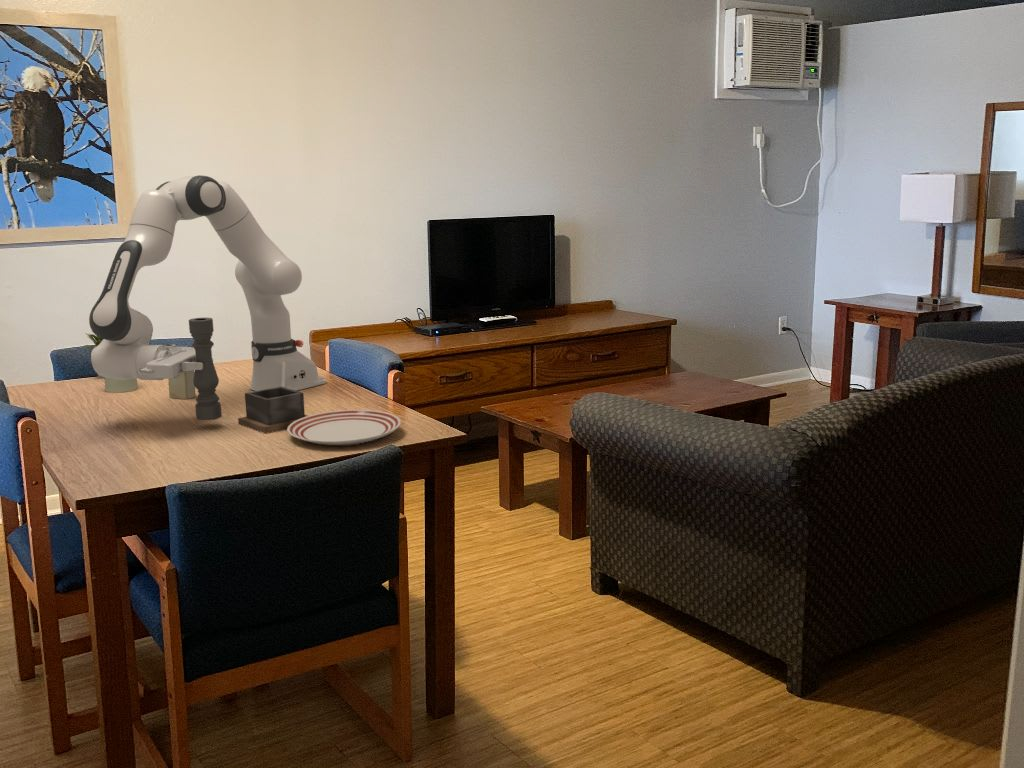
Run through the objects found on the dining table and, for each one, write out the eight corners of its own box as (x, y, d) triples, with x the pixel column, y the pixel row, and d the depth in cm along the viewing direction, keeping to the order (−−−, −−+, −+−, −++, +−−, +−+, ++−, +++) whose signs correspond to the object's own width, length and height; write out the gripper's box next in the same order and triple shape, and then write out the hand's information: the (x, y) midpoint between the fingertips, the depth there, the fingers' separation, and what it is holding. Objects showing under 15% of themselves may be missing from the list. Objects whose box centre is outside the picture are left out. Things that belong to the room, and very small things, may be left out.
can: (138, 384, 304) (134, 345, 301) (138, 391, 296) (134, 350, 293) (105, 387, 301) (101, 347, 298) (104, 393, 292) (100, 353, 290)
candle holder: (227, 415, 256) (219, 318, 250) (208, 421, 250) (199, 322, 245) (209, 412, 259) (201, 316, 253) (191, 418, 253) (182, 320, 248)
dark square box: (286, 414, 267) (284, 384, 265) (313, 422, 258) (311, 392, 256) (238, 423, 258) (236, 393, 256) (265, 433, 249) (263, 401, 247)
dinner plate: (354, 458, 228) (354, 444, 228) (263, 442, 241) (262, 429, 241) (423, 429, 252) (422, 417, 251) (336, 417, 265) (336, 404, 264)
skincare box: (169, 398, 287) (165, 356, 284) (179, 394, 291) (176, 353, 288) (186, 399, 284) (183, 357, 282) (197, 396, 288) (193, 354, 286)
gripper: (133, 358, 242) (188, 359, 240) (173, 342, 262) (223, 343, 260) (136, 384, 244) (190, 385, 242) (175, 366, 264) (225, 367, 262)
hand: (207, 363), depth 251 cm, fingers closed on candle holder, 4 cm apart
